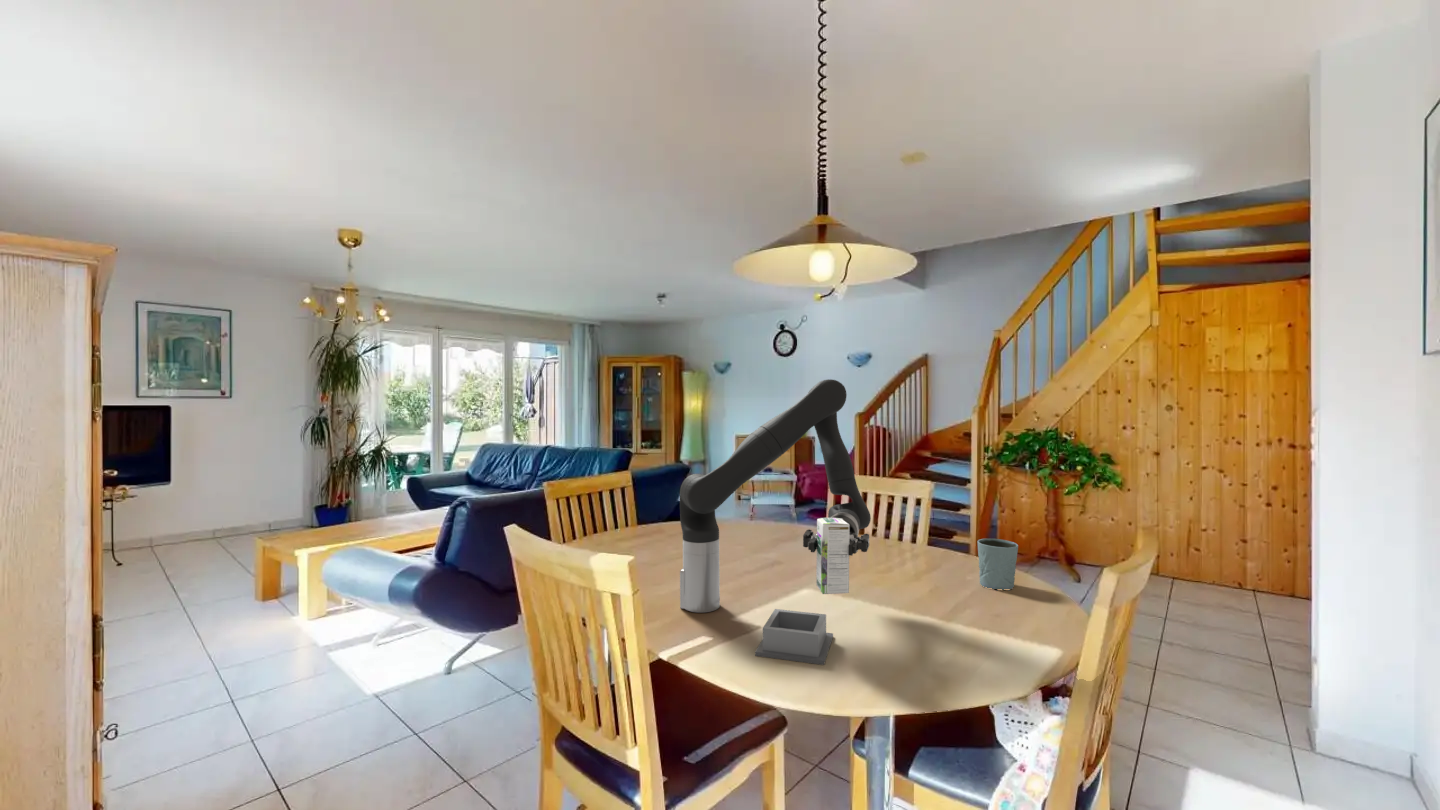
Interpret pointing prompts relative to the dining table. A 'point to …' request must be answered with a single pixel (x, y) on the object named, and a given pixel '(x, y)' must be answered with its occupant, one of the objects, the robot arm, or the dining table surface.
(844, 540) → the syrup box
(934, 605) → the dining table surface
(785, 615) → the holder
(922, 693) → the dining table surface
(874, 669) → the dining table surface
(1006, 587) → the grey-green plant pot
